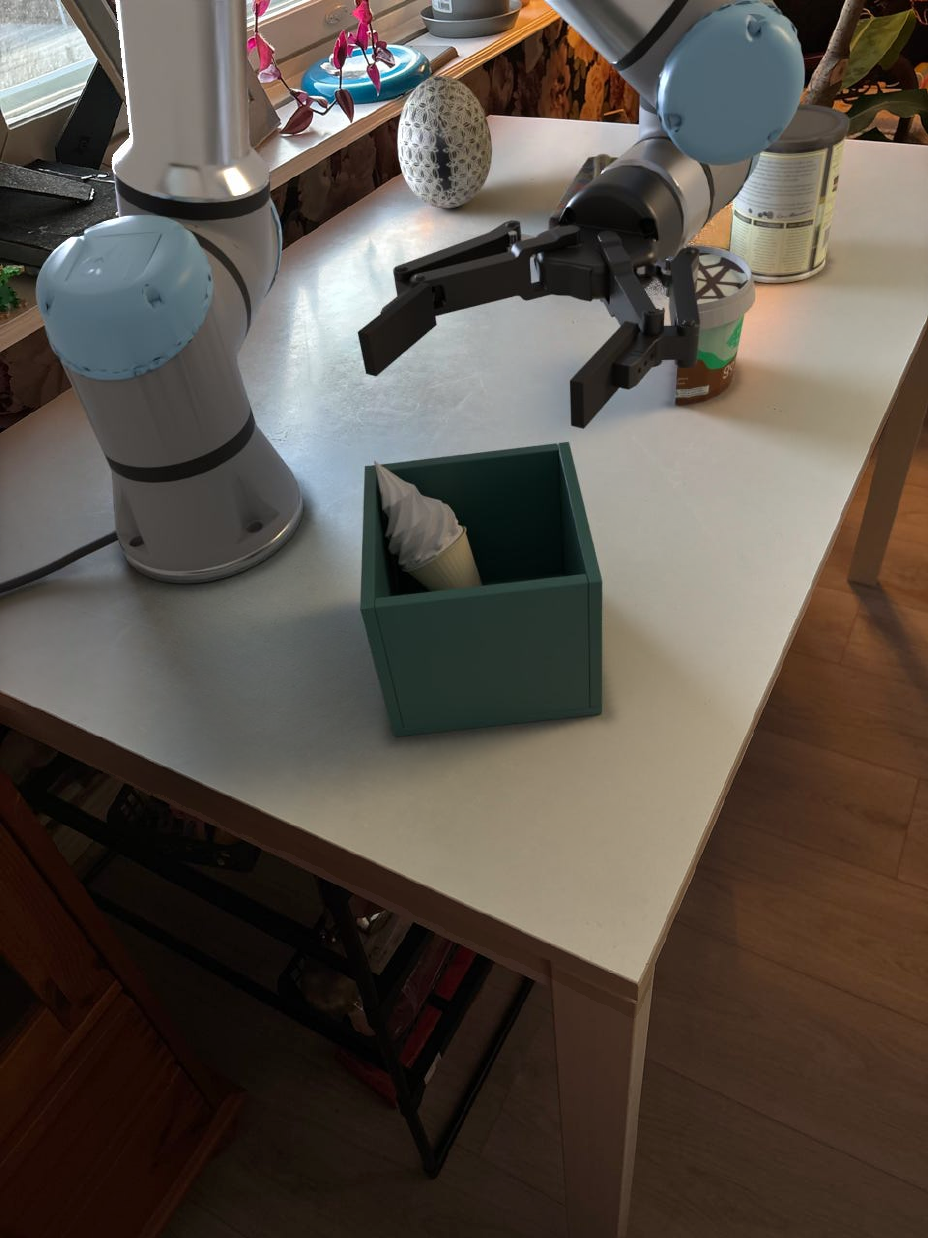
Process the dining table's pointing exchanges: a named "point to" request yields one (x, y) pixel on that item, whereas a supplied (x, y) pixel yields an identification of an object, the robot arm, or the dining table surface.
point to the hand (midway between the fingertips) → (465, 378)
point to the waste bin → (489, 597)
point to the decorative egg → (444, 142)
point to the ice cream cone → (426, 536)
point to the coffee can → (791, 198)
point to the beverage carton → (581, 183)
